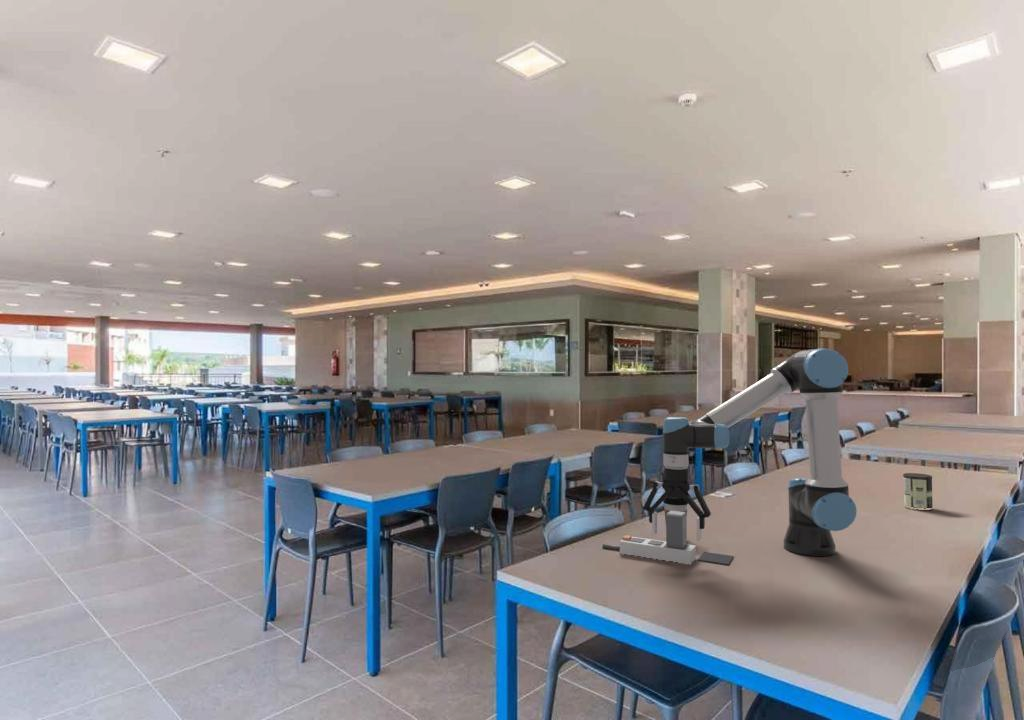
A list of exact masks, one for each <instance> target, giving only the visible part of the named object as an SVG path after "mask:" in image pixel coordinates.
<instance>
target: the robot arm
mask: <svg viewBox="0 0 1024 720" xmlns="http://www.w3.org/2000/svg"><path fill="white" fill-rule="evenodd" d="M848 374H849V365H848V362H847V360H846V358H845V357H844V355H842V354H841V353H840V352H838V351H836V350H834V349H832V348H831V349H830V348H822V347H819V348H814V349H804V350H800V351H798V352H796V353H794V354H792V355H790V356H789V357H788V358H787V359H785V360H784V361H782V362H780V363H779V364H778V365H776V366H775V367H773V368H771V370H770V373H769V374H767V375H766V376H765V377H763V378H761V379H760V380H759V381H757V382H755V383H753V384H752V385H749V386H748V387H747V388H745V389H743V390H742V391H741V392H739V393H738V394H736V395H734V396H733V397H731V398H729V399H728V400H726V401H725V402H723V403H721V404H720V405H718V406H717V407H715V408H713V409H712V410H710V411H708V412H707V413H706V414H704V415H702V416H701V417H699V418H698V419H692V420H690V421H689V419H688V417H682V416H679V417H678V416H670V417H669V416H668V417H665V418H664V419H663V427H662V428H663V429H662V441H663V442H662V443H663V445H662V446H663V458H662V459H663V467H664V468H663V470H662V471H663V474H662V475H663V482H660V481H659V480H656V481H653V483H652V489H651V491H650V494H649V495H648V497H647V499H646V501H645V503H644V505H643V507H642V509H643V511H646V512H648V522H649V523H650V524H652V525H651V526H652V527H651V528H652V531H651V534H652V535H654V536H655V535H656V534H658V511H656V509H658V507H659V506H660V505H661V504H662V503H663V501H664V500H665V498H666V497H667V496H669V497H670V498H675V497H676V498H680V499H681V498H684V500H685V501H687V503H688V504H687V505H689V506H690V508H691V509H692V510H693V511H694V513H695V514H696V515H697V517H696V541H701V540H702V530H704V529H705V526H706V525H705V524H706V521H705V518H709V517H710V516H711V515H712V512H711V511H710V508H709V505H708V504H707V502H706V500H705V499H704V496H703V494H702V493H701V487H700V484H698V483H697V484H690V481H689V479H690V478H689V476H690V475H689V473H690V472H689V469H688V467H689V465H690V463H689V449H715V450H718V449H726V448H728V446H729V444H730V431H729V428H730V427H732V426H733V425H735V424H737V423H739V422H740V421H742V420H743V419H745V418H747V417H748V416H750V415H751V414H753V413H754V412H756V411H758V410H760V409H761V408H763V407H765V406H766V405H768V404H770V403H771V402H773V401H775V400H776V399H778V398H779V397H780V396H782V395H784V394H791V393H793V392H795V391H796V390H799V394H800V395H801V396H802V397H803V398H804V399H805V411H806V413H805V414H806V426H807V427H806V428H807V444H808V447H807V449H808V461H809V463H808V465H809V477H808V478H807V477H805V478H804V477H801V478H800V477H798V478H797V477H795V478H790V479H789V481H788V488H787V490H788V526H787V529H786V532H785V534H784V537H783V548H784V549H785V550H787V551H789V552H791V553H795V554H799V555H805V556H810V557H811V556H812V557H828V556H833V554H834V555H835V554H836V552H837V551H836V546H837V545H836V543H835V540H834V537H833V535H832V532H838V531H843V530H845V529H848V528H849V527H850V526H851V525H852V524H853V523H854V521H856V518H857V512H858V511H857V506H856V503H855V501H854V500H853V499H852V498H851V497H850V494H849V483H848V482H847V481H846V480H845V479H844V478H843V474H842V473H843V472H842V471H843V470H842V456H841V438H840V422H839V408H838V407H839V403H838V398H839V397H840V396H841V395H842V394H843V392H844V391H843V390H844V389H843V383H844V382H845V381H846V379H847V378H848ZM661 487H662V489H663V490H664V492H663V493H662V494H661V496H660V497H659V498H658V499H657V501H655V502H654V504H653V505H652V506H651V504H652V503H653V501H654V499H655V497H656V495H657V492H658V491H659V489H660V488H661ZM690 490H691V491H692V493H694V495H695V498H696V499H697V501H698V503H699V505H698V504H697V503H696V502H695V501H694V499H693V498H692V495H690V493H689V492H690ZM699 506H700V507H699Z"/></svg>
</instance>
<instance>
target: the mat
mask: <svg viewBox="0 0 1024 720" xmlns="http://www.w3.org/2000/svg"><path fill="white" fill-rule="evenodd" d="M734 557H735V555H730V554H729V555H728V554H722V553H721V554H720V553H715V552H707V551H703V552H702V554H700V556H699V557H698V559H697V562H702V561H703V563H709V564H710V563H711V564H717V565H722V564H724V566H730V564H731V563H732V561H733V559H734ZM730 562H731V563H730Z"/></svg>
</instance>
